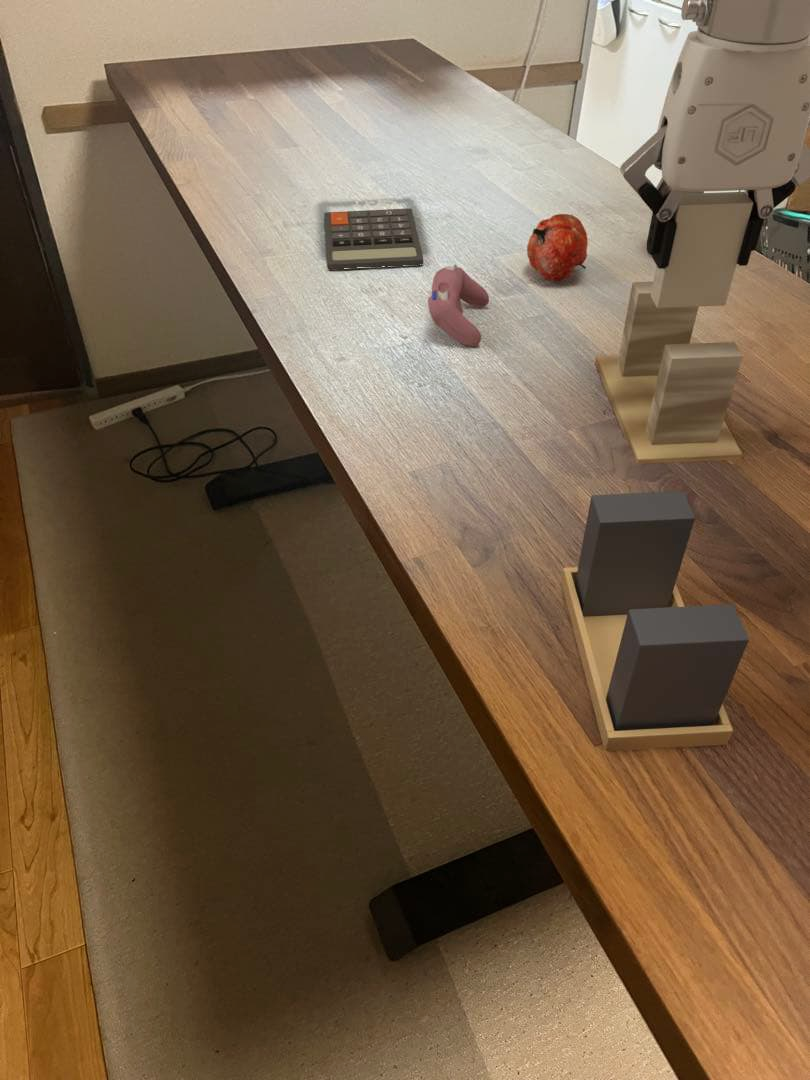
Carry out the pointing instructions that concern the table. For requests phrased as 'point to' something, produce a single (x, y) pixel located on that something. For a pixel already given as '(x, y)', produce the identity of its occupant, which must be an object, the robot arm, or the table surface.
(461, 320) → the video game controller
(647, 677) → the dark grey block
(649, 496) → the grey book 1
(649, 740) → the shallow beige tray
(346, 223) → the calculator
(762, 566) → the table surface
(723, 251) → the beige rectangular block
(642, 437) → the wooden block stand
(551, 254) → the pomegranate
